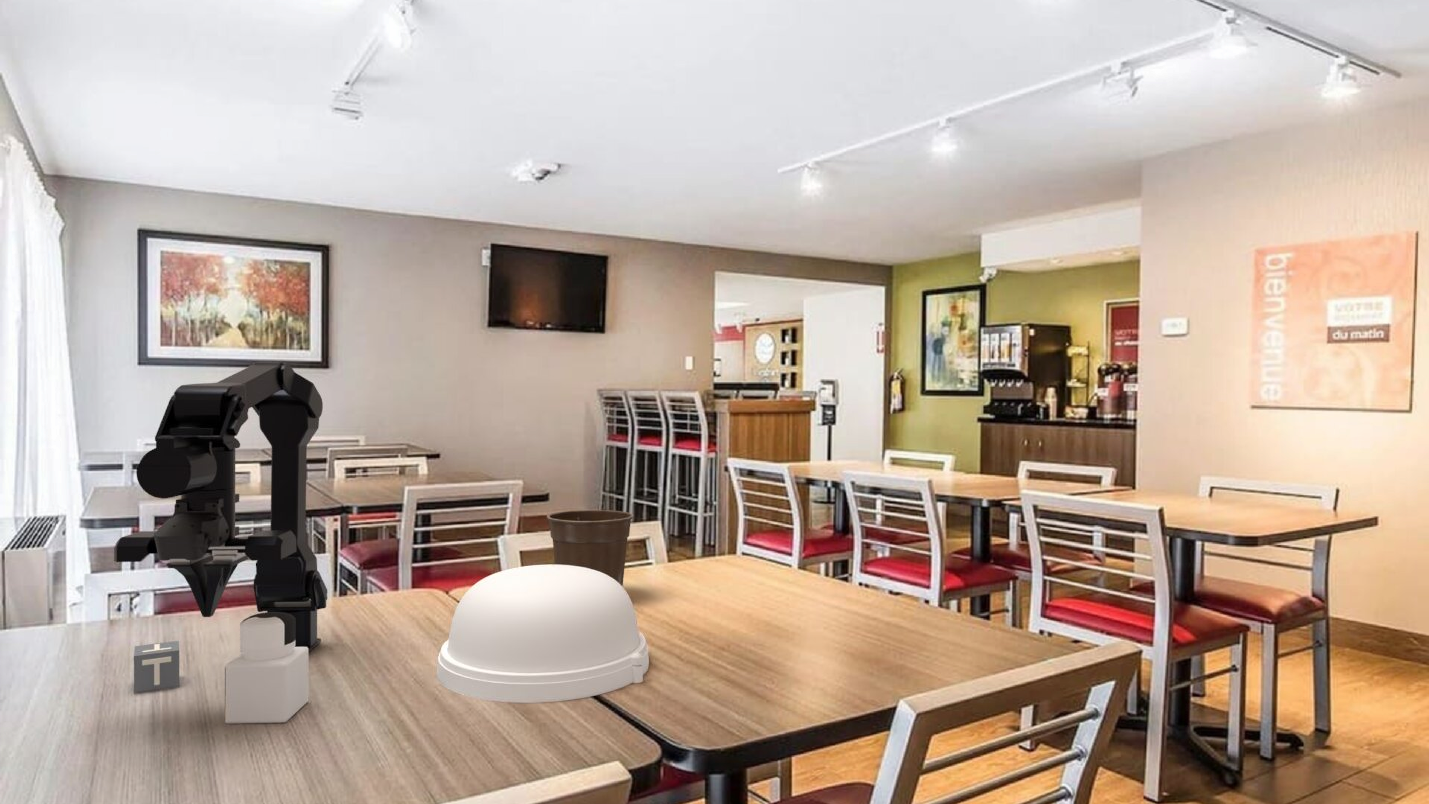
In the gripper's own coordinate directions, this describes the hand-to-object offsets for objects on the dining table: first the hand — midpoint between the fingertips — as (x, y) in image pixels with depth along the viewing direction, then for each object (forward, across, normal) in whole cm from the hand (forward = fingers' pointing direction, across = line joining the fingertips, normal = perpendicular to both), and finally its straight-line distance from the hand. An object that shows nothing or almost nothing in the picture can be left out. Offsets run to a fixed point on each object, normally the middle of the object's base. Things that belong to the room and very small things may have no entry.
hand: (208, 616), depth 106 cm
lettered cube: (+12, -11, +12) cm, 20 cm away
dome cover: (+12, +39, +16) cm, 44 cm away
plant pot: (+12, +45, +54) cm, 71 cm away
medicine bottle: (+12, +7, 0) cm, 14 cm away
